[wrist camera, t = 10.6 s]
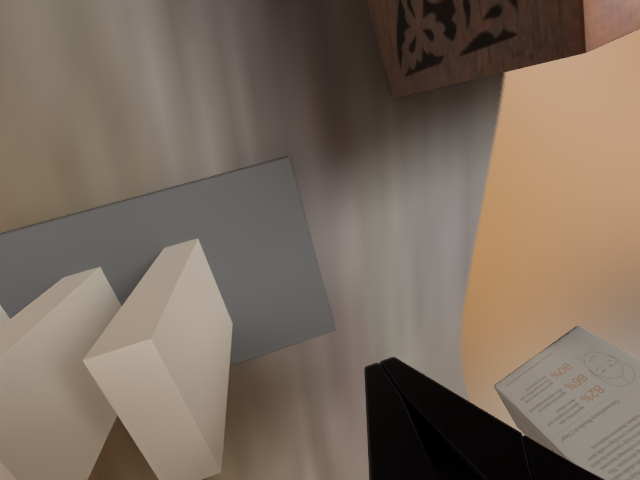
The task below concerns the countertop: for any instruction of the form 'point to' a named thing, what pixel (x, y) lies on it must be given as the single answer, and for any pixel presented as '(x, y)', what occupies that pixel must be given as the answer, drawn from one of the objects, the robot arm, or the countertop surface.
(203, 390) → the white angular block
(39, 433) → the domino
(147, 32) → the countertop surface
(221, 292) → the rubber mat
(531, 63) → the tissue box cover
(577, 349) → the small box
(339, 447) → the countertop surface
